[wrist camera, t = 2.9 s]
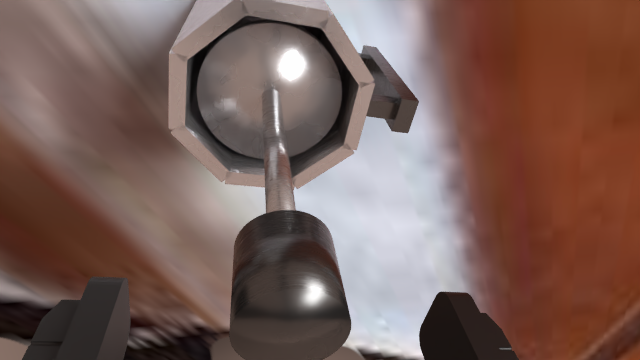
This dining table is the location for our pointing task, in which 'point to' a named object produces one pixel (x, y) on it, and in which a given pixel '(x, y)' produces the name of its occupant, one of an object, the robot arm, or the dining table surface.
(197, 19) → the carafe
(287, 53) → the plunger
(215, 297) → the dining table surface
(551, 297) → the dining table surface
